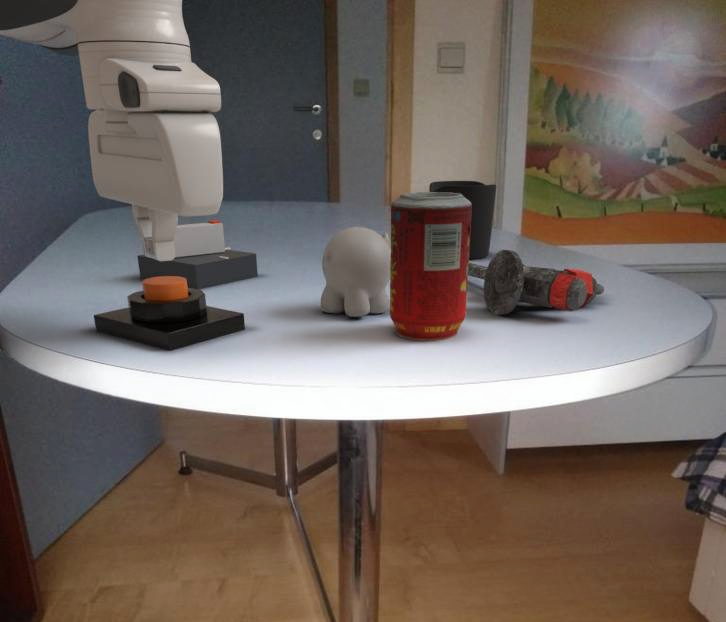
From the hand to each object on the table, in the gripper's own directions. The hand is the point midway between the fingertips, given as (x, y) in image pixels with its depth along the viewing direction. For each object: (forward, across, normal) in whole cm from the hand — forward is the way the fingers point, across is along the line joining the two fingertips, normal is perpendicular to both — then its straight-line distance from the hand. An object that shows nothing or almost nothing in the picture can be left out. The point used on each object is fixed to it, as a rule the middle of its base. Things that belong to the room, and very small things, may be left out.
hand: (159, 258), depth 66 cm
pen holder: (+7, -13, +51) cm, 53 cm away
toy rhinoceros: (+7, +6, +21) cm, 23 cm away
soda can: (+7, +16, +19) cm, 26 cm away
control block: (+7, +1, 0) cm, 7 cm away
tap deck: (+7, -22, +14) cm, 27 cm away
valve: (+6, +11, +38) cm, 40 cm away
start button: (+4, +1, 0) cm, 4 cm away
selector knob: (+4, -22, +14) cm, 26 cm away
